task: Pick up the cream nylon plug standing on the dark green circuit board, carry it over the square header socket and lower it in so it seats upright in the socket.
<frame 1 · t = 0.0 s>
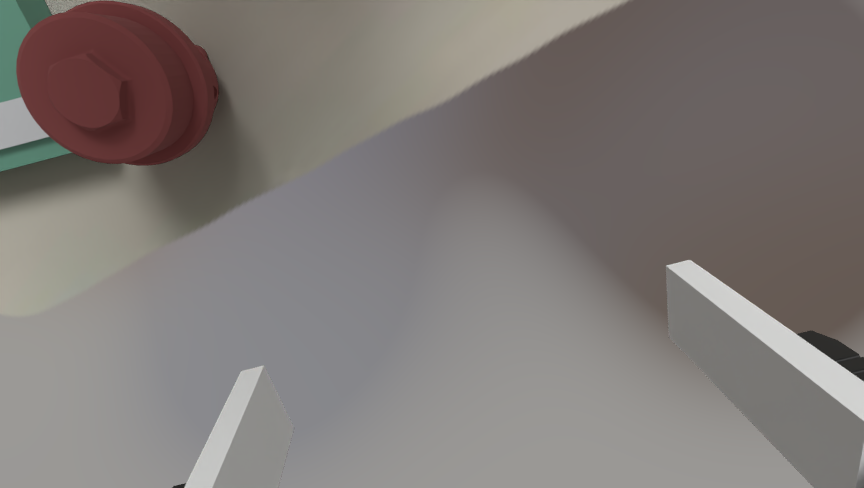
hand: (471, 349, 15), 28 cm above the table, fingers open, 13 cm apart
mechanical component: (181, 81, 37), on the table
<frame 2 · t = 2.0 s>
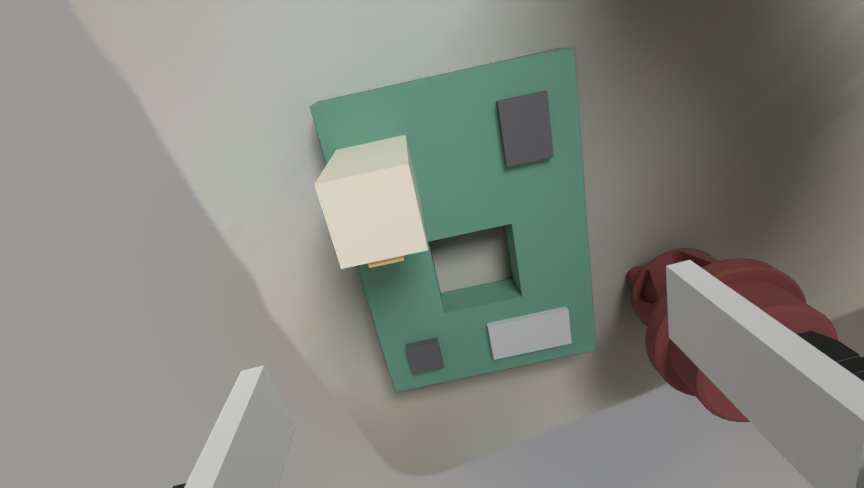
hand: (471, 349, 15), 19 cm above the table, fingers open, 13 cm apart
mechanical component: (662, 278, 37), on the table
plug: (379, 176, 29), point 3 cm above the table, touching board
board: (466, 229, 34), on the table
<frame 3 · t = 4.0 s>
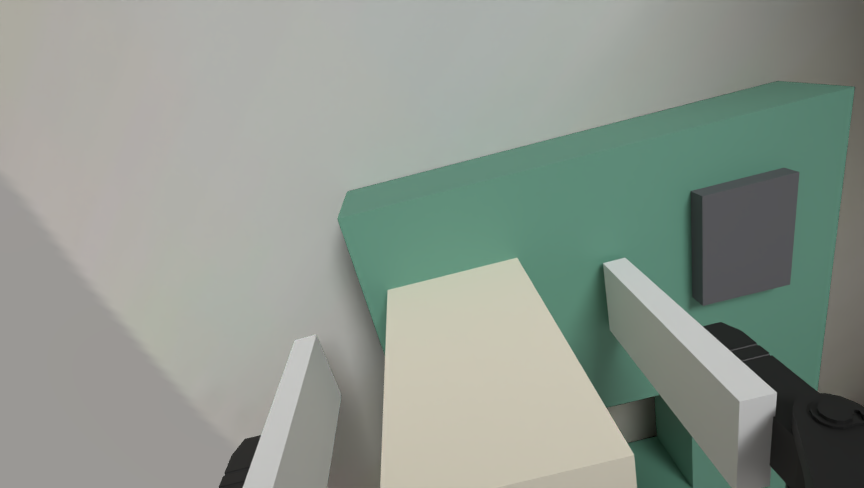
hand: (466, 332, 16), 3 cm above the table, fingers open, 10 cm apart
plug: (465, 328, 16), point 3 cm above the table, touching board
board: (589, 373, 21), on the table
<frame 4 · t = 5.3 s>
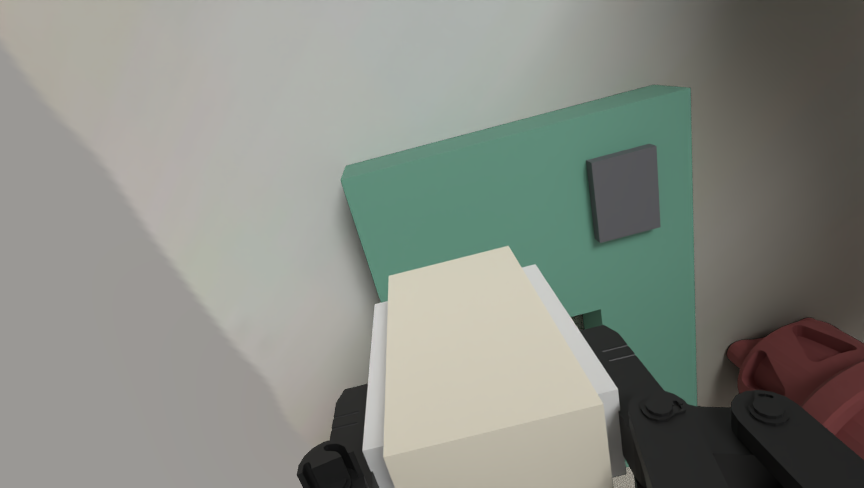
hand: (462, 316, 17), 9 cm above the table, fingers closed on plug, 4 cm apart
mechanical component: (768, 351, 30), on the table
plug: (461, 312, 17), point 8 cm above the table, touching gripper
board: (532, 309, 27), on the table
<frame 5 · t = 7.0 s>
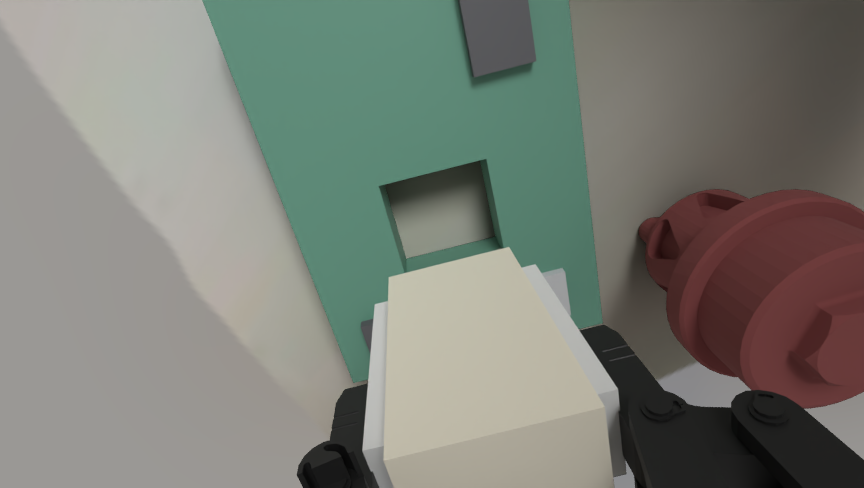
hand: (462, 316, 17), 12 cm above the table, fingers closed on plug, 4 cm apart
mechanical component: (683, 233, 30), on the table
plug: (461, 313, 17), point 12 cm above the table, touching gripper
board: (432, 174, 27), on the table
when the fingers open (4 cm above the table, at t = 8.5 s): plug drops 3 cm, resting in board.
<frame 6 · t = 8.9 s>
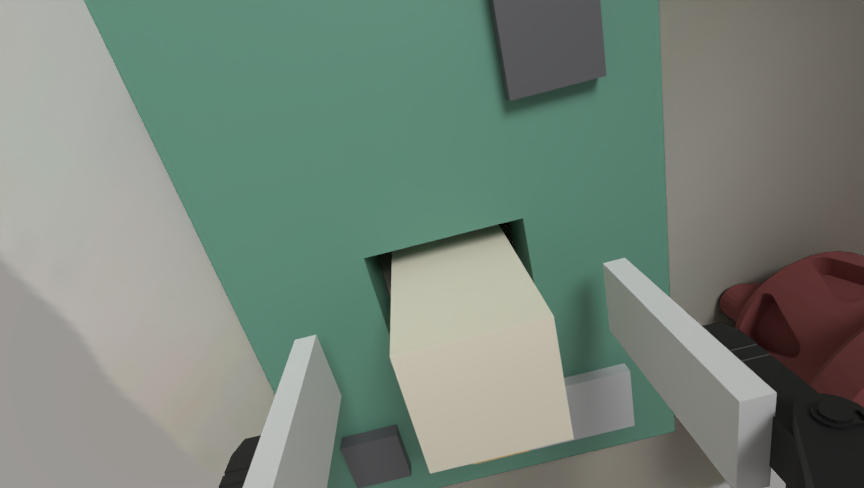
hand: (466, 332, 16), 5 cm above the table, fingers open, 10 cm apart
mechanical component: (777, 302, 22), on the table
plug: (453, 273, 20), resting in board
board: (441, 231, 19), on the table
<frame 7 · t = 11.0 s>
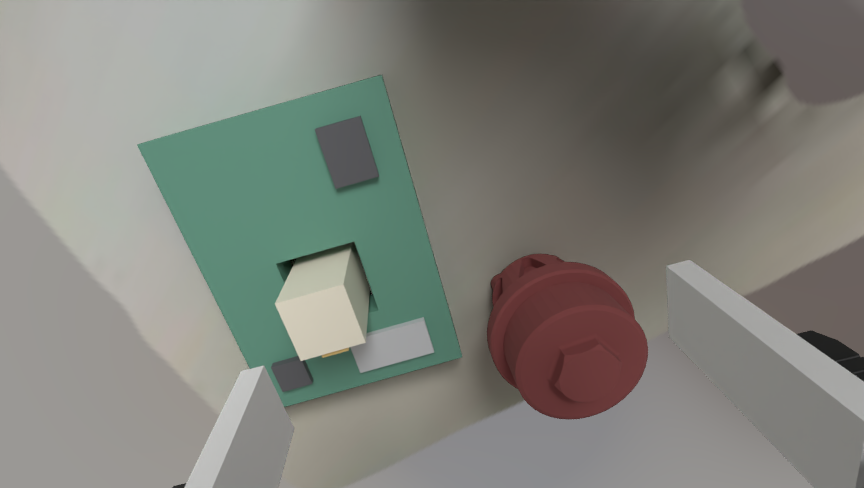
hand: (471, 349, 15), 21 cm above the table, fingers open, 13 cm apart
mechanical component: (528, 283, 38), on the table
plug: (335, 271, 36), resting in board
board: (324, 248, 35), on the table
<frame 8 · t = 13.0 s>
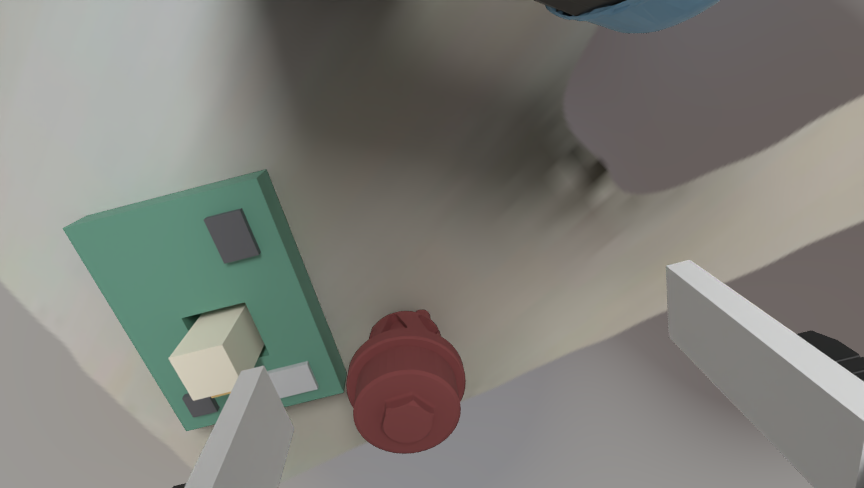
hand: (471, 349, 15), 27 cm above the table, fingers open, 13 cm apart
mechanical component: (404, 331, 46), on the table
plug: (238, 319, 44), resting in board
board: (228, 301, 43), on the table
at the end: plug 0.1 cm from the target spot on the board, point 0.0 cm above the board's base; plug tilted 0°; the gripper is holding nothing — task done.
